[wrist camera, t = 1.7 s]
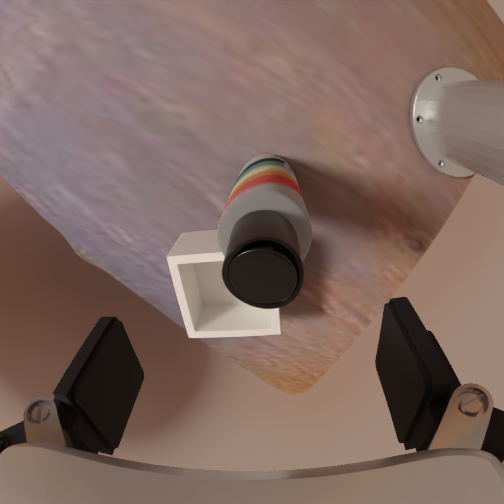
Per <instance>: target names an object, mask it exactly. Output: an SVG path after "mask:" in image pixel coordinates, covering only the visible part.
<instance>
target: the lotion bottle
mask: <svg viewBox="0 0 504 504" xmlns="http://www.w3.org/2000/svg"><path fill="white" fill-rule="evenodd" d="M311 241H312V227H311V222H310V218H309V215H308V212H307V209H306V206H305V203H304V200H303V197H302V194H301V191H300V189H299V186H298V183H297V180H296V177H295V175H294V172H293V170H292V168H291V167H290V165H289V164H288V163H287V162H286V161H285V160H283V159H282V158H280V157H278V156H275V155H270V154H264V155H259V156H256V157H254V158H252V159H251V160H249V161H248V162H247V163H246V164H245V166H244V167H243V169H242V170H241V172H240V175H239V177H238V179H237V181H236V183H235V185H234V188H233V190H232V192H231V194H230V197H229V199H228V201H227V203H226V205H225V208H224V210H223V212H222V215H221V218H220V221H219V225H218V242H219V246H220V249H221V251H222V253H223V255H224V257H225V258H224V262H223V266H222V278H223V282H224V284H225V286H226V287H227V289H228V290H229V291H230V293H231V294H232V295H233V296H235V297H236V298H237V299H239V300H240V301H242V302H244V303H246V304H248V305H250V306H253V307H256V308H261V309H275V308H280V307H282V306H285V305H287V304H288V303H290V302H291V301H292V300H293V299H294V298H295V297H296V296H297V295H298V293H299V292H300V289H301V287H302V284H303V279H304V269H303V263H302V261H303V260H304V258H305V257H306V255H307V253H308V251H309V249H310V245H311Z"/></svg>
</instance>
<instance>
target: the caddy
mask: <svg viewBox="0 0 504 504" xmlns="http://www.w3.org/2000/svg"><path fill="white" fill-rule="evenodd" d="M224 258H225V257H224V255H223V253H222V251H221V249H220V246H219V242H218V229H215V230H205V231H195V232H185V233H181V235H180V237H179V238H178V240H177V241H176V243H175V244H174V246H173V247H172V249H171V250H170V252H169V253H168V255H167V261H168V265H169V269H170V272H171V276H172V280H173V284H174V287H175V291H176V295H177V298H178V302H179V306H180V309H181V313H182V316H183V319H184V323H185V326H186V330H187V333H188V336H189V338H208V337H238V336H259V335H276V334H281V325H280V308H275V309H261V308H256V307H253V306H250V305H248V304H246V303H244V302H242V301H240V300H239V299H237V298H236V297H235V296H233V295H232V294H231V293H230V291H229V290H228V289H227V287H226V286H225V284H224V282H223V278H222V266H223V262H224Z"/></svg>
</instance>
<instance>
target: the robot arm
mask: <svg viewBox="0 0 504 504" xmlns="http://www.w3.org/2000/svg"><path fill="white" fill-rule="evenodd" d="M435 77H436V78H435ZM417 117H418V121H417V120H416V118H417ZM410 124H411V130H412V134H413V137H414V140H415V143H416V145H417V147H418V149H419V151H420V153H421V154H422V156H423V157H424V158H425V160H426V161H427V162H428V163H429V164H430V165H431V166H432V167H434V168H435V169H437V170H438V171H440V172H442V173H444V174H446V175H449V176H453V177H467V176H472V175H474V174H476V173H478V174H480V175H482V176H485V177H487V178H489V179H491V180H493V181H496V182H498V183H500V184H502V185H504V80H479V79H478V78H477V77H475V76H474V75H473V74H471V73H469V72H467V71H466V70H462V69H459V68H451V67H448V68H441V69H438V70H435V71H432V72H431V73H429V74H428V75H426V76H425V77H424V78H423V79H422V80H421V81H420V83H419V84H418V86H417V88H416V90H415V92H414V95H413V98H412V101H411V108H410ZM438 163H439V164H438ZM375 363H376V370H377V372H378V376H379V379H380V382H381V385H382V388H383V391H384V394H385V397H386V401H387V404H388V407H389V411H390V414H391V417H392V421H393V424H394V427H395V431H396V435H397V438H398V441H399V443H404V446H405V450H409V449H413V448H416V451H417V452H415V453H409V454H404V455H398V456H393V457H388V458H383V459H378V460H372V461H366V462H359V463H352V464H345V465H338V466H331V467H322V468H310V469H298V470H280V471H218V470H202V469H189V468H179V467H170V466H161V465H154V464H147V463H141V462H135V461H129V460H124V459H118V458H113V457H108V456H104V455H99V454H98V452H101V453H105V454H110V455H113V452H114V449H115V448H117V447H118V446H119V443H120V441H121V438H122V436H123V433H124V430H125V427H126V424H127V422H128V419H129V417H130V414H131V411H132V409H133V406H134V403H135V401H136V398H137V395H138V392H139V390H140V388H141V385H142V383H143V380H144V372H143V369H142V367H141V365H140V363H139V361H138V358H137V356H136V354H135V352H134V350H133V348H132V345H131V343H130V340H129V338H128V336H127V333H126V331H125V328H124V326H123V324H122V322H121V321H119V320H118V319H117V318H116V317H101V318H100V319H99V321H98V322H97V324H96V325H95V327H94V328H93V330H92V331H91V333H90V334H89V336H88V337H87V339H86V340H85V342H84V343H83V345H82V346H81V348H80V350H79V351H78V353H77V354H76V356H75V357H74V359H73V361H72V362H71V364H70V366H69V367H68V369H67V370H66V372H65V374H64V375H63V377H62V378H61V380H60V382H59V384H58V385H57V387H56V389H55V390H54V392H53V394H54V396H55V398H54V400H52V399H51V398H49V397H39V398H36V399H34V400H33V401H31V402H30V403H29V404H28V405H27V407H26V408H25V411H24V415H23V419H24V421H22V422H20V423H18V424H16V425H14V426H11V427H9V428H7V429H5V430H3V431H1V432H0V504H504V411H502V410H499V409H497V408H494V407H493V399H492V396H491V394H490V393H489V392H488V391H487V390H486V389H485V388H484V387H482V386H480V385H478V384H473V383H470V384H464V385H461V384H460V382H459V380H458V378H457V376H456V374H455V372H454V370H453V368H452V367H451V365H450V363H449V361H448V359H447V357H446V356H445V354H444V352H443V350H442V348H441V347H440V345H439V343H438V341H437V340H436V338H435V336H434V335H433V333H432V332H431V331H427V330H426V328H425V327H424V325H423V323H422V322H421V320H420V319H419V316H418V315H417V313H416V312H415V310H414V308H413V307H412V305H411V303H410V302H409V300H408V299H407V297H400V298H392V299H390V301H389V303H387V304H385V305H384V312H383V318H382V325H381V331H380V337H379V344H378V349H377V355H376V361H375Z"/></svg>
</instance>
